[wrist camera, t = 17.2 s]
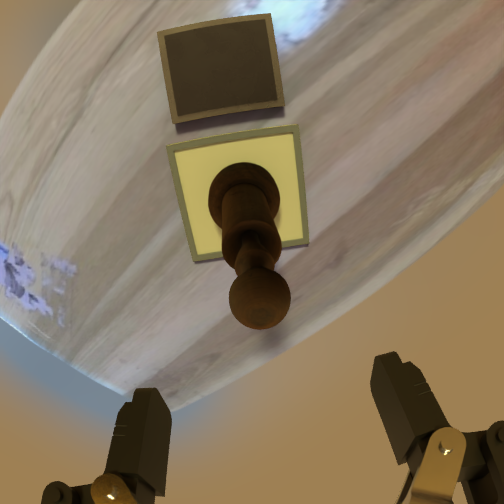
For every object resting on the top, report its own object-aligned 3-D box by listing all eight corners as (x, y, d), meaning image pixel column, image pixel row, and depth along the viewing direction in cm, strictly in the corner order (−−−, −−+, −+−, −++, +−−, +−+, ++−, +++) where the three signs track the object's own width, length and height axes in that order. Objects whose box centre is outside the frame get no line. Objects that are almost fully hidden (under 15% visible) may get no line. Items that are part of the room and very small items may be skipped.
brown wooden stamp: (255, 237, 32) (281, 377, 17) (197, 209, 31) (169, 339, 15) (289, 181, 30) (358, 287, 14) (229, 149, 28) (233, 225, 12)
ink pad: (269, 15, 23) (271, 12, 22) (283, 105, 27) (285, 106, 26) (159, 34, 23) (156, 31, 22) (174, 123, 27) (172, 124, 26)
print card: (297, 124, 28) (298, 124, 27) (308, 241, 33) (309, 243, 33) (166, 145, 28) (166, 146, 27) (193, 259, 33) (193, 261, 33)
